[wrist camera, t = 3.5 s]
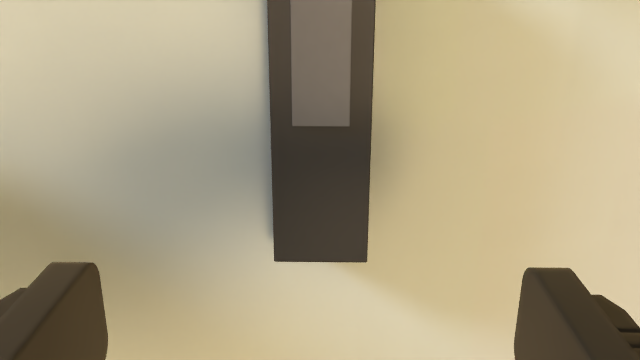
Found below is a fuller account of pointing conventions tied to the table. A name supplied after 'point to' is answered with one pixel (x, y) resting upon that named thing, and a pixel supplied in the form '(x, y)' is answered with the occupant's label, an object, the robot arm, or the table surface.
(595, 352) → the robot arm
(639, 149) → the table surface
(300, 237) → the block
